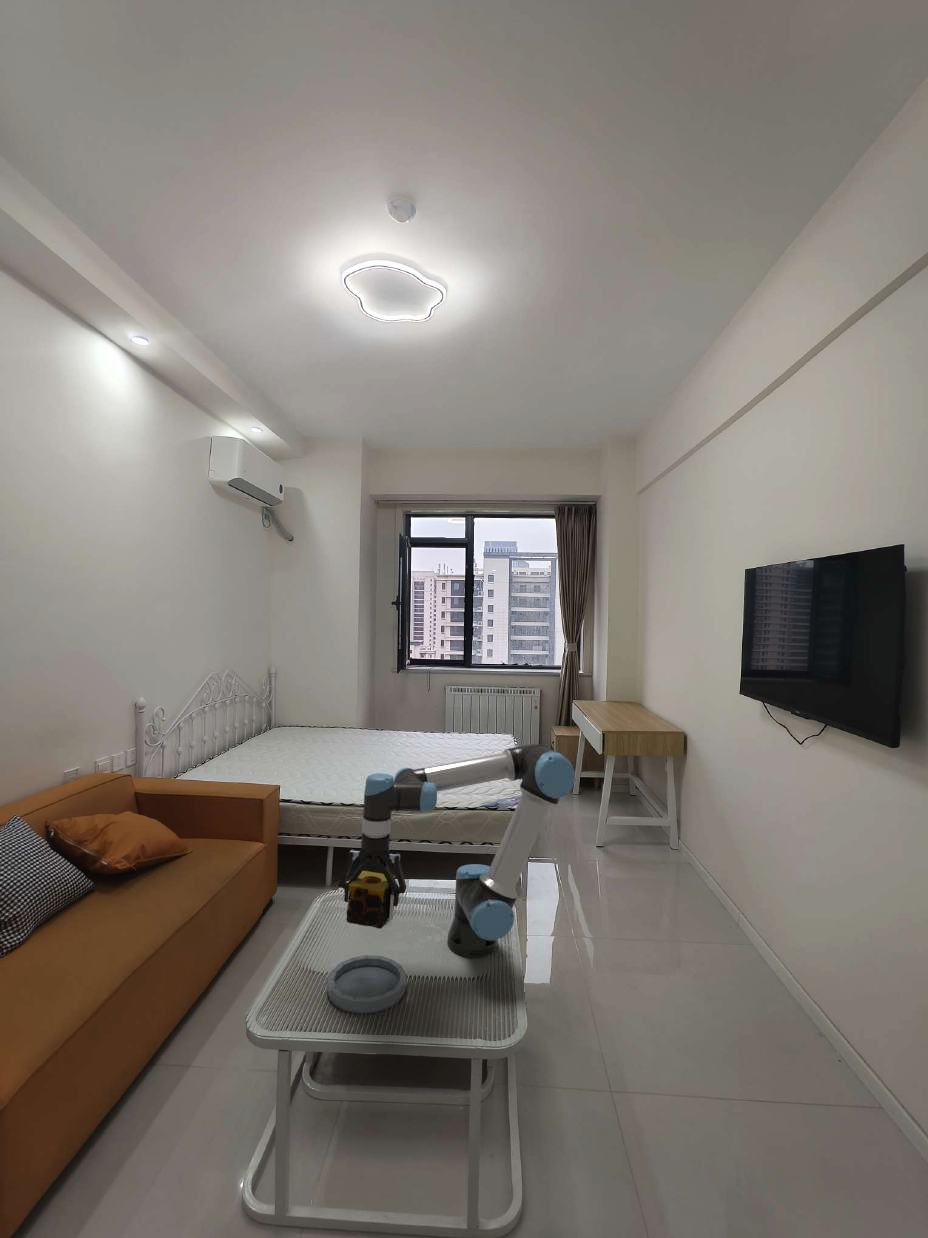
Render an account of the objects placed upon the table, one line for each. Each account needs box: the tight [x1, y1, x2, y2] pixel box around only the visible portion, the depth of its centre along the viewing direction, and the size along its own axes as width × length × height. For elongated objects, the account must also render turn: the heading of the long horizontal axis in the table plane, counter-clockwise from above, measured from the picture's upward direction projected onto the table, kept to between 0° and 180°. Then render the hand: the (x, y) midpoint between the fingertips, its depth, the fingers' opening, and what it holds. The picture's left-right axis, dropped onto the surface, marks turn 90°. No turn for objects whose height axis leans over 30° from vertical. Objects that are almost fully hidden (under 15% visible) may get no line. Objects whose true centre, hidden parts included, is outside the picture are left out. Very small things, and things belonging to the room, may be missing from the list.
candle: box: [345, 870, 396, 930], centre depth 157 cm, size 10×10×10 cm
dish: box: [326, 954, 407, 1015], centre depth 154 cm, size 20×20×3 cm
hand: (370, 915), depth 157 cm, fingers closed on candle, 11 cm apart
